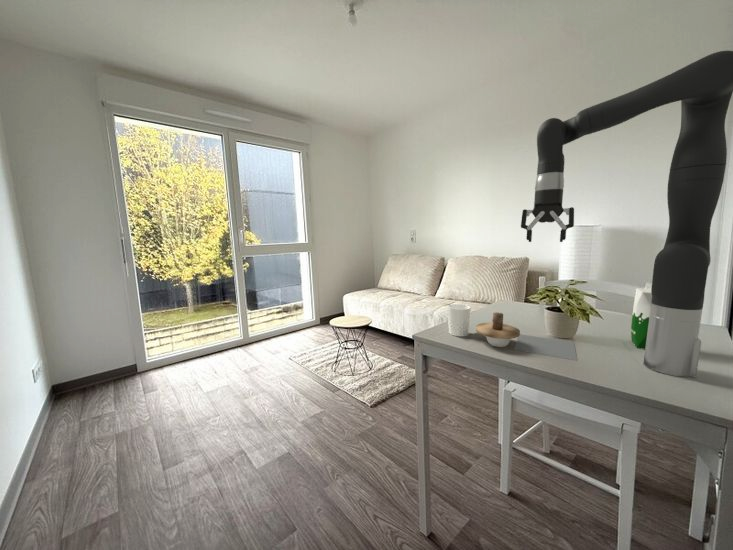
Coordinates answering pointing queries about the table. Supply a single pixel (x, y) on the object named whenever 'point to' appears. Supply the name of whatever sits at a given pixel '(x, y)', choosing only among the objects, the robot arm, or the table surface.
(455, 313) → the white cup
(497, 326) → the lid
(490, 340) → the white bowl
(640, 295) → the milk carton
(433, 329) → the table surface
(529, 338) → the mat
